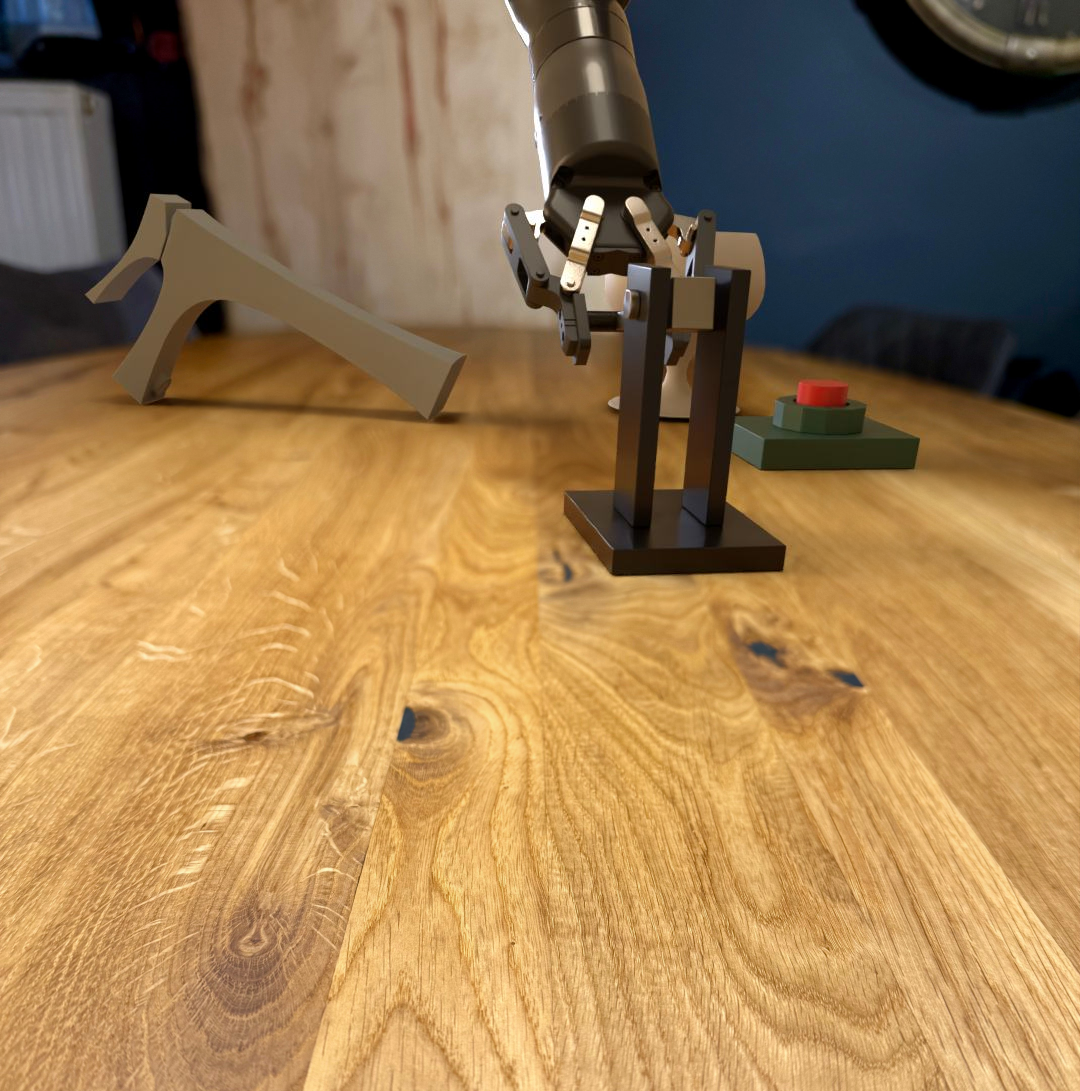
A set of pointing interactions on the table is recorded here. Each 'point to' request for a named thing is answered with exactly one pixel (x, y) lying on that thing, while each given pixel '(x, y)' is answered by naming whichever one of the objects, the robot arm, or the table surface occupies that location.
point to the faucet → (262, 283)
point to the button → (822, 393)
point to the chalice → (675, 388)
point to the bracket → (700, 507)
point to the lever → (672, 308)
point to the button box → (821, 439)
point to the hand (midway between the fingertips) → (629, 356)
